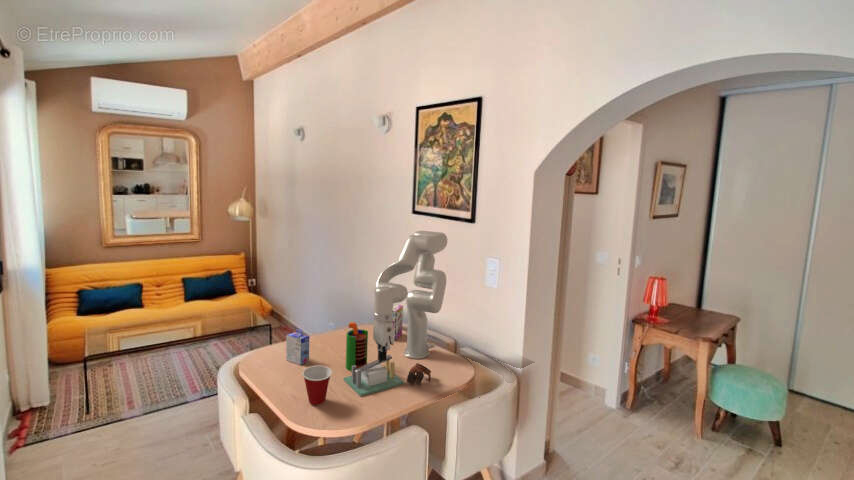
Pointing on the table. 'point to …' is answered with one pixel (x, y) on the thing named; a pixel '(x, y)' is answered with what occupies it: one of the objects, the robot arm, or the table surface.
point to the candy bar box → (397, 321)
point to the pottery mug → (417, 374)
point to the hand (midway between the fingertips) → (382, 359)
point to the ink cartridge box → (297, 347)
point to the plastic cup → (317, 383)
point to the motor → (356, 347)
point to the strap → (372, 364)
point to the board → (375, 387)
